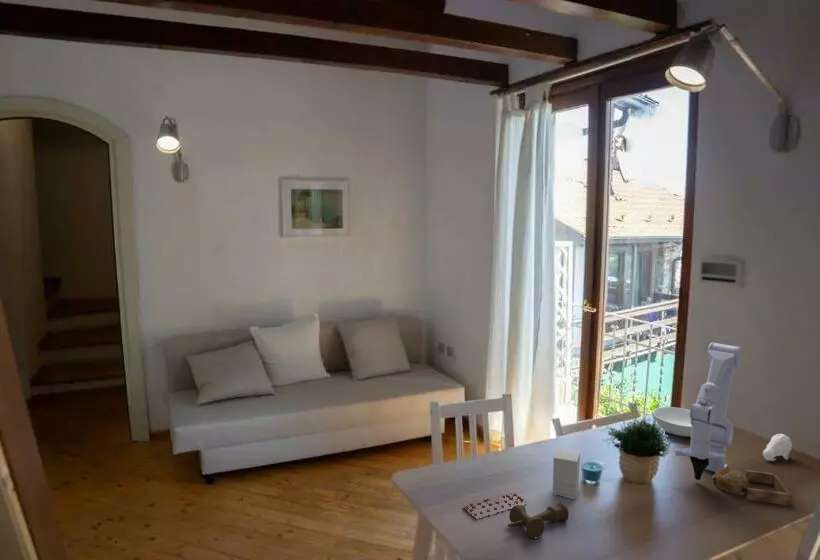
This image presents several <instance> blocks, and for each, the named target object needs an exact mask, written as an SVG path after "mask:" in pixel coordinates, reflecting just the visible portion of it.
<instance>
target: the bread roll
mask: <svg viewBox="0 0 820 560" xmlns="http://www.w3.org/2000/svg"><path fill="white" fill-rule="evenodd" d="M711 478H712V480H713V483H714V485H715V487H717V488H718V489H719V488H720V489H719V490H720V491H722V490H723V492H726V493H728V494H732V495H739V496H743V495H745V494H747V490H748V488H751V485H750V482H749V481H748V479H747V477H746V476H745V474H743V472H742V471H740V470H737V469H734V468H728V467H727V468H726V469H721V470H719V471H717V472H715V473H714V474H713V475H712V477H711Z"/></svg>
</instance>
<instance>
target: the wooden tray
mask: <svg viewBox="0 0 820 560" xmlns="http://www.w3.org/2000/svg"><path fill="white" fill-rule="evenodd" d="M744 475H745V476H746V477H747V479H748V481H750V482H751V483H757V482H758V483H757V484H765V485H772V486H773V488H774V489H775V490H776V491H775V490H767V489H759V488H752V487H750V488H748V490H747V492H746V499H747V500H748V501H754V502H761V503H767V504H769V503H770V504H776V505H783V506H789V507H791V506H792V498H793V495H792V493H791V492H790V490H789V489H788V488H787V487H786V485H785V484H784V482H783V481H782V480H781V478H780V477H779V476H778V474H776V473H772V472H765V471H758V470H757V471H756V470H750V469H745V474H744ZM750 482H749V483H750Z"/></svg>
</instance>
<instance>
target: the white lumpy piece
mask: <svg viewBox="0 0 820 560" xmlns="http://www.w3.org/2000/svg"><path fill="white" fill-rule="evenodd" d="M765 447H766V448H765V449H763V451H762V455H763V457H764V459H765V460H766V462H770V461H772V462H774V461H776V460H777V458H775V457H780V456H782V457H783V459H784V460H788V459H789V454H790V451H791V450H792V449H793V448H792V447H793V443H792V440H791V439H790V437H789V436H787V435H786V434H783V433H777V434H774V435H773V436H772V437H771V438H770V441H769V443H767V444H766V446H765Z"/></svg>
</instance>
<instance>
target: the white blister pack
mask: <svg viewBox="0 0 820 560" xmlns="http://www.w3.org/2000/svg"><path fill="white" fill-rule="evenodd" d="M504 494H505V495H506V497H508V498H509V500H512V501H513V502H514V504H512V505H515V503H516V504H518V501H517V500H518V499H520V500H519V501H520V502H521V503H522V502H524V503H526V504H527V501H525V500H524V498H523V497H521V495H520V494H519V495H517V494H518V493H517V492H513V491H510V492H509V493H504ZM509 494H511V495H512V494H513V495H512V496H510V495H509ZM505 495H503V494H502V496H499V495H496V496H497V497H496V496H495V498H500V497H501V499H502V497H503V498H505ZM514 496H516V497H517V498H516V499H515V500H516V501H514V500H513V497H514ZM495 498H492V497H490V498H488V497H487V498H484V499H482V501H475V503H473V502H469V503H468V504H469V505H470V506H471V507H472V509H471V508H470V509H469V508H468V507H469V506H468V504H464V505H463V506H464V507H465V508H466V509H467V510H469V511H470V512H471V513H472V511H474V510H473V509H475V510H476V507H477V506H478V505H481V502H482V503H483V502H486V503H487V504H488V505H489V506H492V505H495V504H498V505H499V503H500V502H499V501H495V500H494V499H495ZM489 500H490V501H491V500H493V501H494V502H495V503H494V504H492V503H488V502H487V501H489ZM496 500H499V499H496ZM509 500H508V501H509ZM502 501H503V499H502ZM502 501H501V503H502ZM503 502H505V503H507V500H504V501H503ZM520 502H519V503H520ZM476 503H477V505H476ZM473 504H474V505H473ZM508 505H509V506H510V507H511V503H508ZM518 505H519V504H518ZM481 506H482V508H485V505H481ZM492 507H493V506H492ZM501 507H502V508H504V505H501ZM477 509H478V510H479V508H477ZM493 509H494V510H497V507H494V508H493ZM498 509H499V508H498ZM500 509H501V508H500ZM477 512H478V511H477ZM487 512H490V509H487ZM472 514H474V516H477V513H472ZM480 514H483V512H482V511H480Z"/></svg>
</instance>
